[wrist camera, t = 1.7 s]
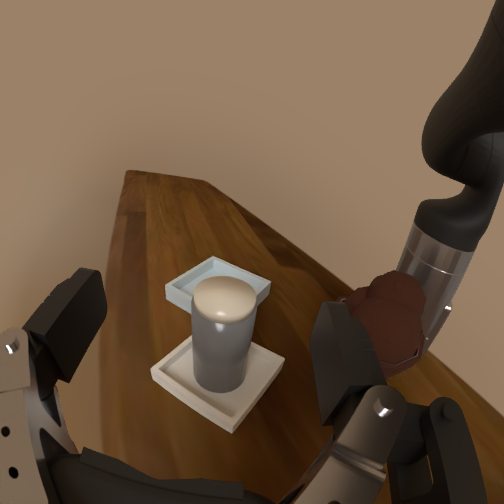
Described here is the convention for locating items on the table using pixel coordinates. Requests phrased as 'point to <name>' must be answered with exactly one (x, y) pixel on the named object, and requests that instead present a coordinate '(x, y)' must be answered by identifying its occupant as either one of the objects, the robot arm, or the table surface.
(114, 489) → the robot arm
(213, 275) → the glazed dish
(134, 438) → the table surface
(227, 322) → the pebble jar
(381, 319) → the ice cream bowl
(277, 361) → the tray
